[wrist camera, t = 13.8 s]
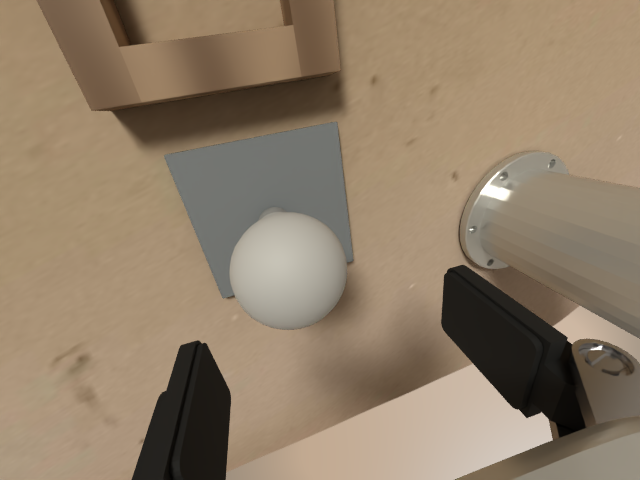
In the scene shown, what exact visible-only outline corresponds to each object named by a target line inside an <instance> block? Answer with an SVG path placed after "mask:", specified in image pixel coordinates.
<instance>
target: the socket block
mask: <svg viewBox="0 0 640 480" xmlns="http://www.w3.org/2000/svg"><path fill="white" fill-rule="evenodd" d="M37 2H38V4H39V6H40V8H41V10H42V12H43V14H44V16H45V18H46V20H47V22H48V24H49V26H50V28H51V30H52V32H53V34H54V36H55V38H56V40H57V42H58V44H59V46H60V48H61V50H62V52H63V54H64V56H65V58H66V60H67V62H68V64H69V66H70V68H71V70H72V73H73V75H74V77H75V79H76V81H77V83H78V85H79V87H80V89H81V91H82V93H83V95H84V97H85V99H86V101H87V103H88V105H89V107H90V109H91V111H114V110H120V109H126V108H132V107H138V106H145V105H151V104H157V103H163V102H169V101H175V100H181V99H188V98H194V97H200V96H206V95H212V94H218V93H224V92H230V91H237V90H243V89H249V88H255V87H261V86H267V85H273V84H280V83H286V82H292V81H298V80H304V79H310V78H316V77H323V76H329V75H331V74H334V73H336V72H338V71H341V68H340V58H339V48H338V39H337V29H336V19H335V10H334V0H280V3H281V9H282V15H283V21H284V26H281V27H273V28H265V29H257V30H249V31H242V32H234V33H226V34H218V35H210V36H202V37H194V38H186V39H178V40H171V41H163V42H155V43H147V44H139V45H131V43H130V41H129V38H128V36H127V33H126V31H125V28H124V26H123V23H122V21H121V18H120V16H119V13H118V11H117V8H116V5H115V3H114V0H37Z"/></svg>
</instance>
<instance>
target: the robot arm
mask: <svg viewBox="0 0 640 480" xmlns="http://www.w3.org/2000/svg"><path fill="white" fill-rule="evenodd" d="M460 242H461V246H462V249H463V251H464V253H465V254H466V256H467V257H468V258H469V259H470V260H471V261H473V262H474V263H476V264H478V265H479V266H481V267H484V268H487V269H501V268H506V267H509V266H511V267H513V268H514V269H516V270H518V271H520V272H522V273H523V274H525V275H527V276H529V277H530V278H532V279H534V280H536V281H538V282H539V283H541V284H543V285H545V286H547V287H548V288H550V289H552V290H554V291H555V292H557V293H559V294H561V295H563V296H564V297H566V298H568V299H570V300H571V301H573V302H575V303H577V304H579V305H580V306H582V307H584V308H586V309H587V310H589V311H591V312H593V313H595V314H596V315H598V316H600V317H602V318H604V319H605V320H607V321H609V322H611V323H612V324H614V325H616V326H618V327H620V328H621V329H623V330H625V331H627V332H628V333H630V334H632V335H634V336H636V337H637V338H639V339H640V188H638V187H632V186H627V185H622V184H616V183H611V182H605V181H600V180H595V179H589V178H584V177H578V176H573V175H569V173H568V169H567V167H566V165H565V164H564V162H563V161H562V160H561V159H560V158H559V157H558V156H556V155H554V154H551V153H547V152H541V151H526V152H522V153H518V154H516V155H513V156H511V157H509V158H507V159H505V160H504V161H503V162H501V163H500V164H498V165H497V166H495V167H494V168H493V169H492V170H491V171H490V172H489V173H488V174H487V175H486V176H485V177H484V178H483V179H482V180H481V182H480V183H479V184H478V185H477V187H476V188H475V190H474V191H473V193H472V194H471V196H470V198H469V200H468V202H467V204H466V206H465V209H464V212H463V215H462V219H461V224H460ZM441 324H442V328H443V330H444V331H445V333H446V334H447V335H448V336H449V337H450V338H451V339H452V340H453V341H454V343H455V344H456V345H457V346H458V347H459V348H460V349H461V350H462V352H463V353H464V354H465V355H466V356H467V357H468V358H469V359H470V360H471V362H472V363H473V364H474V365H475V366H476V367H477V368H478V369H479V370H480V372H481V373H482V374H483V375H484V376H485V377H486V378H487V379H488V381H489V382H490V383H491V384H492V385H493V386H494V387H495V388H496V389H497V390H498V392H499V393H500V394H501V395H502V396H503V397H504V398H505V400H506V401H507V402H508V403H509V404H510V405H511V406H512V407H513V408H515V409H519V410H520V411H521V412H522V413H523V414H524V416H525V417H526V418H528V417H531V416H534V415H536V414H539V413H541V412H542V413H543V414H544V415H545V416H546V417H547V418H548V419H549V423H550V428H551V432H552V438H553V441H550V442H548V443H545V444H542V445H540V446H537V447H535V448H532V449H530V450H528V451H525V452H523V453H520V454H517V455H515V456H512V457H510V458H507V459H505V460H502V461H500V462H497V463H495V464H492V465H490V466H487V467H485V468H482V469H480V470H477V471H475V472H472V473H470V474H467V475H465V476H462V477H460V478H457V479H455V480H640V364H639V362H638V361H637V360H636V359H635V358H634V357H633V356H632V355H630V354H629V353H628V352H626V351H624V350H622V349H621V348H619V347H617V346H615V345H612V344H610V343H607V342H604V341H600V340H595V339H580V340H578V341H576V342H574V343H573V345H572V344H571V343H569V342H568V341H567V337H566V336H565V335H563V334H562V333H561V332H559V331H557V330H556V329H555V328H553V327H552V326H551V325H549V324H548V323H546V322H545V321H543V320H542V319H541V318H539V317H538V316H536V315H535V314H534V313H532V312H531V311H529V310H528V309H526V308H525V307H524V306H522V305H521V304H519V303H518V302H516V301H515V300H514V299H512V298H511V297H509V296H508V295H506V294H505V293H504V292H502V291H501V290H499V289H498V288H497V287H495V286H494V285H492V284H491V283H489V282H488V281H487V280H485V279H484V278H482V277H481V276H479V275H478V274H477V273H475V272H474V271H472V270H471V269H469V268H468V267H467V266H465V265H460V266H457V267H453V268H450V269H448V270H447V273H446V274H445V275H444V287H443V304H442V320H441ZM230 407H231V395H230V391H229V388H228V386H227V384H226V382H225V380H224V378H223V376H222V374H221V372H220V370H219V368H218V366H217V364H216V362H215V360H214V358H213V356H212V354H211V352H210V350H209V348H208V346H207V344H206V343H203V344H201V342H200V341H194V342H191V343H187V344H184V345H181V346H180V348H179V351H178V354H177V357H176V361H175V364H174V367H173V371H172V374H171V377H170V380H169V384H168V387H167V390H166V391H165V392H162V394H161V395H160V396H159V398H158V401H157V403H156V407H155V410H154V413H153V416H152V419H151V422H150V425H149V428H148V431H147V434H146V437H145V440H144V444H143V447H142V450H141V453H140V456H139V459H138V462H137V465H136V468H135V471H134V474H133V477H132V480H225V479H226V465H227V451H228V436H229V421H230Z"/></svg>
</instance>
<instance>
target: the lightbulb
mask: <svg viewBox="0 0 640 480" xmlns="http://www.w3.org/2000/svg"><path fill="white" fill-rule="evenodd" d="M229 274H230V283H231V286H232V289H233V292H234V295H235V298H236V299H237V301H238V302H239V304H240V305H241V307H242V308H243V310H244V311H245V312H246V313H247V314H248V315H249V316H250V317H251V318H253V319H255V320H256V321H258V322H260V323H261V324H263V325H266V326H269V327H271V328H276V329H282V330H294V329H301V328H304V327H308V326H310V325H312V324H314V323H317V322H318V321H320V320H321V319H323V318H324V317H325V316H326V315H327V314H328V313H329V312H330V311H331V310H332V309H333V308H334V307H335V306H336V304H337V303H338V301H339V299H340V297H341V296H342V293H343V291H344V288H345V285H346V280H347V261H346V256H345V253H344V250H343V247H342V244H341V243H340V241H339V240H338V238H337V236H336V235H335V234H334V233H333V231H332V230H331V229H330V228H329V227H328V226H327V225H325V224H324V223H322V222H321V221H319V220H317V219H315V218H313V217H310V216H308V215H305V214H301V213H295V212H286V211H285V210H284V209H282V208H279V207H271V208H268V209H266V210H264V211H263V212H262V213H261V215H260V216H259V219H258V222H256V223H255V224H253V225H252V226H251V227H250V228H249V229H248V230H247V231H246V232H245V233H244V234H243V235H242V237H241V238H240V240H239V241H238V243H237V244H236V246H235V248H234V251H233V253H232V256H231V262H230V271H229Z"/></svg>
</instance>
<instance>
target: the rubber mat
mask: <svg viewBox="0 0 640 480" xmlns="http://www.w3.org/2000/svg"><path fill="white" fill-rule="evenodd" d="M164 157H165V160H166V162H167V165H168V167H169V170H170V172H171V174H172V177H173V179H174V182H175V184H176V186H177V189H178V191H179V194H180V196H181V199H182V201H183V203H184V206H185V208H186V211H187V213H188V216H189V218H190V220H191V223H192V225H193V228H194V230H195V232H196V235H197V237H198V240H199V242H200V245H201V247H202V249H203V252H204V254H205V257H206V259H207V261H208V264H209V266H210V269H211V271H212V274H213V276H214V278H215V281H216V283H217V286H218V288H219V291H220V293H221V295H222V298H227V297H230V296H233V295H234V292H233V289H232V286H231V283H230V274H229V271H230V262H231V256H232V253H233V251H234V248H235V246H236V244H237V243H238V241H239V240H240V238H241V237H242V235H243V234H244V233H245V232H246V231H247V230H248V229H249V228H250V227H251V226H252V225H253V224H255V223H256V222H258V219H259V216H260V215H261V213H262V212H263V211H264V210H266V209H268V208H271V207H279V208H282V209H284V210H285V211H286V212H295V213H301V214H305V215H308V216H310V217H313V218H315V219H317V220H319V221H321V222H322V223H324V224H325V225H327V226H328V227H329V228H330V229H331V230H332V231H333V233H334V234H335V235H336V236H337V238H338V240H339V241H340V243H341V244H342V247H343V250H344V253H345V256H346V261H347V263H348V262H351V261H353V254H352V245H351V237H350V228H349V220H348V211H347V202H346V194H345V185H344V177H343V168H342V160H341V151H340V143H339V134H338V126H337V122H331V123H326V124H321V125H316V126H311V127H306V128H301V129H295V130H290V131H285V132H280V133H275V134H270V135H264V136H259V137H254V138H249V139H244V140H239V141H234V142H228V143H223V144H218V145H213V146H208V147H203V148H198V149H192V150H187V151H182V152H177V153H172V154H167V155H164Z"/></svg>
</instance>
